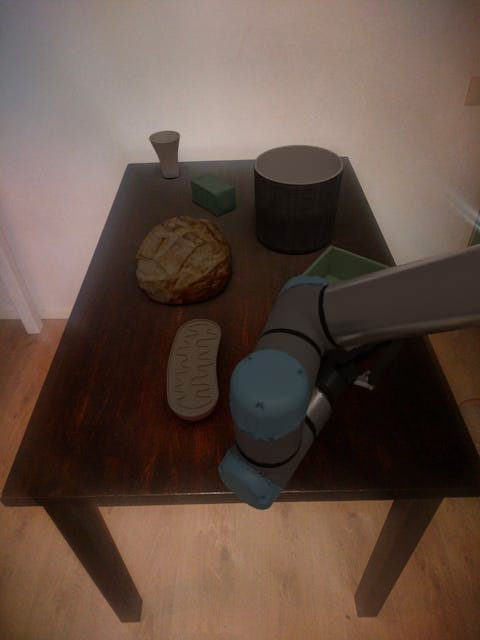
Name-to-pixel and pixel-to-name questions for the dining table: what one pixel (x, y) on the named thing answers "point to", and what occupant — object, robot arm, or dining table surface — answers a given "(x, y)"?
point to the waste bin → (342, 265)
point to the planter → (296, 197)
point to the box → (213, 194)
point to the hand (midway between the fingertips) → (377, 298)
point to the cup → (166, 150)
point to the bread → (184, 261)
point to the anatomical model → (194, 370)
